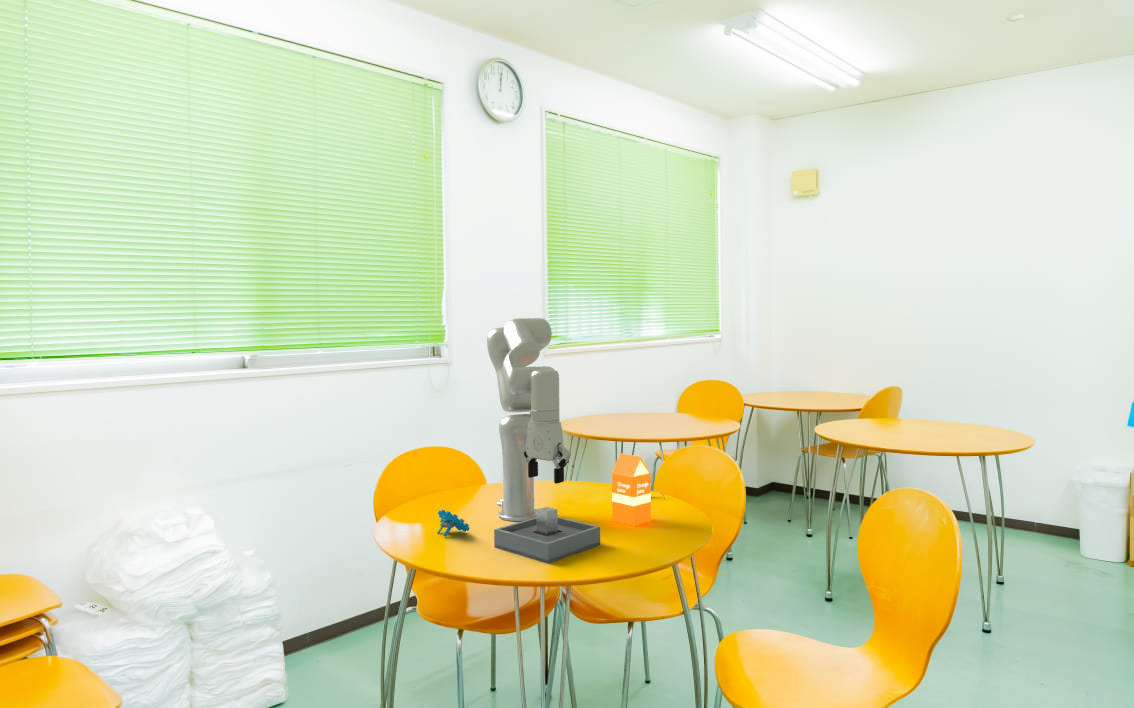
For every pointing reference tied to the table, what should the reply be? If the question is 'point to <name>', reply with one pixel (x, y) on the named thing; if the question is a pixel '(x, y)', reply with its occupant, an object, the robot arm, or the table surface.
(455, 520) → the blue bumpy legged piece
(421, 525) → the table surface
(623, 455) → the orange juice
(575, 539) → the box
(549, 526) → the peg
